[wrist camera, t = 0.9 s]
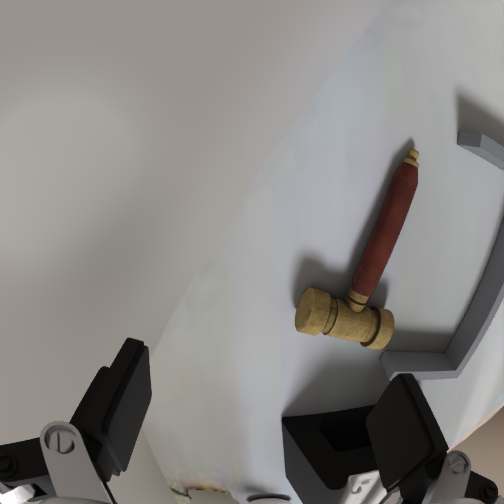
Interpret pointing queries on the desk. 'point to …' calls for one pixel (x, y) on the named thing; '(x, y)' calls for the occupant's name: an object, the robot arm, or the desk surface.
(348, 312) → the gavel
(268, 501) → the flower in vase
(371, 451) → the device stand
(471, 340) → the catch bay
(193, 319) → the desk surface
